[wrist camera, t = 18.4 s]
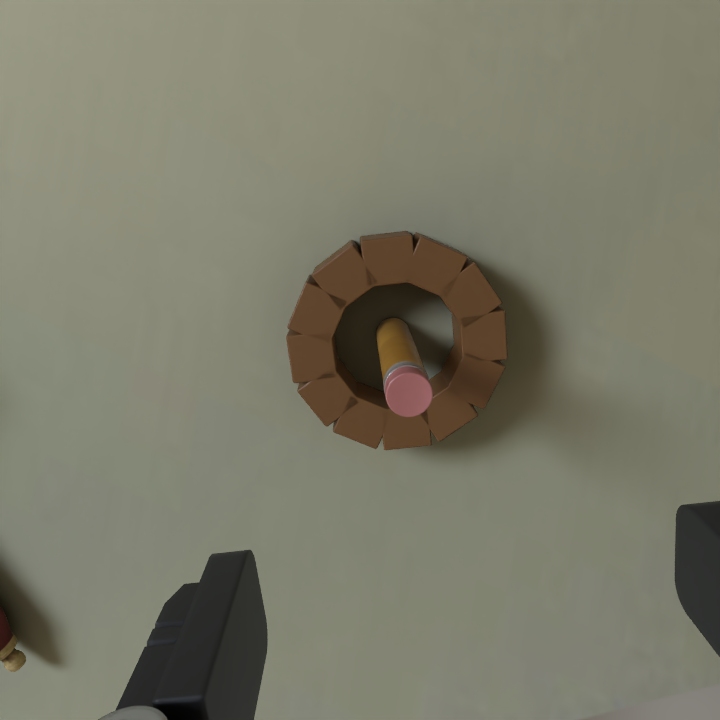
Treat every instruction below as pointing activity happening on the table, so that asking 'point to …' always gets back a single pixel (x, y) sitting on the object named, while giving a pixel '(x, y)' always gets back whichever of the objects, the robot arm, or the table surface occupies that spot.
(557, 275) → the table surface
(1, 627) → the gavel
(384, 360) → the pencil
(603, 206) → the table surface
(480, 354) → the brown block ring
